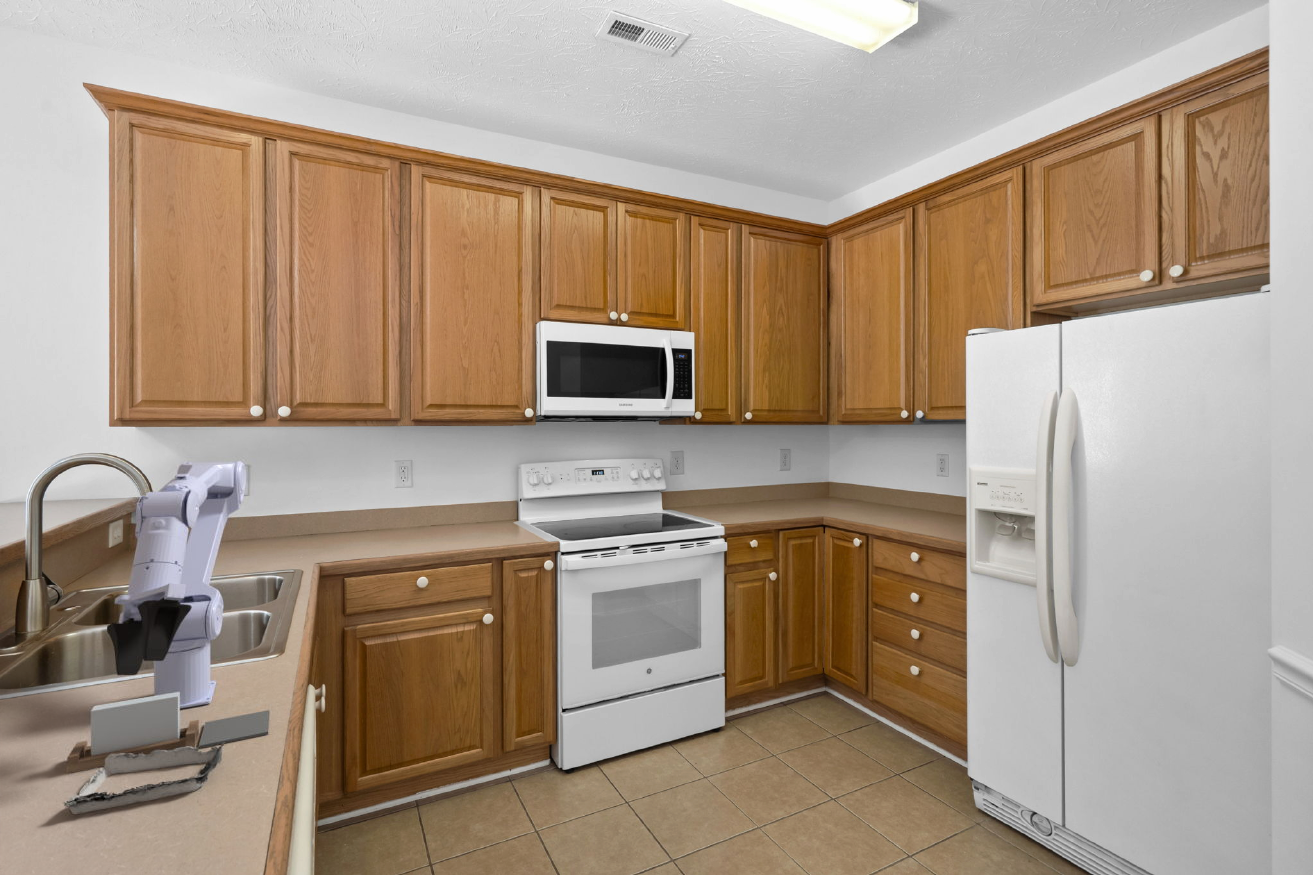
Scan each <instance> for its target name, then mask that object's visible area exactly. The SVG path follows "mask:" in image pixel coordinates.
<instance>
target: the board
mask: <svg viewBox="0 0 1313 875" xmlns="http://www.w3.org/2000/svg"><path fill="white" fill-rule="evenodd" d="M180 712H181V708H180V692H175V693H169V694H163V695H157V696H154V695H152V696H145V697H141V698H140V697H139V698H134V699H133V698H132V699H128V700H127V699H126V700H122V701H121V700H120V701H115V702H110V703H104V704H103V703H102V704H98V705H94V706H93V707H92V708H91V710H90V746H91V756H94V755H99V754H104V753H109V752H114V751H119V750H124V749H129V748H134V747H139V746H144V745H149V744H154V743H159V742H165V741H170V740H175V739H180V729H181V725H180V724H181V713H180Z"/></svg>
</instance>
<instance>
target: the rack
mask: <svg viewBox="0 0 1313 875" xmlns="http://www.w3.org/2000/svg"><path fill="white" fill-rule="evenodd" d="M199 723H200V722H199V719H196V720H190V721H189V723H188V725H187V726H188V727H183V728H180V739H175V740H170V741H165V742H159V743H154V744H149V745H144V746H139V747H134V748H129V749H124V750H119V751H114V752H109V753H104V754H99V755H94V756H91V745H89V746H88V740H84V741H77V742H76V743H75V745H74V746H73V748H72V750H71V751H70V753H69V755H68V756H66V757H67V758H66V761H67V762H66V763H67V764H66V766H67V771H66V773H67V774H70V773H76V772H81V771H85V770H89V769H95V768H99V767H100V768H102V767H104V766H105V759H106V758H107V757H108V756H109V755H110V754H120V753H126V754H127V753H131V754H133V755H138V754H140V753H143V754H144V755H148V754H150V753H151V752H152V751H154V750H167V751H169V750H174V749H176V748H181V747H185V746H192V747H196V745H197V741H198V737H199V734H200V724H199Z"/></svg>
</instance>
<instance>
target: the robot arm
mask: <svg viewBox="0 0 1313 875" xmlns="http://www.w3.org/2000/svg"><path fill="white" fill-rule="evenodd" d="M176 472H177V474H176V475H175V476H174V478H172V479H171V480H169V481H168V482H167V483H166V484H165V485H164V486H163V487H162V488H160V489H159V490H158V491H148V492H147V493H146V494H145V495H141V496H140V497H139V498H138V501H137V502H136V509H135V514H136V515H135V518H136V524H135V530H134V531H135V533H134V534H135V536H134V537H135V538H136V539H137V543H136V548H135V553H134V558H133V562H132V568H131V572H130V577H129V578H130V579H129V582H128V589H127V594H121V595H119V596H117V597H115V599H114V604H116V605H122V612H121V613H120V614H119V619H118V622H111V623H110V624H108V625H106V626H107V627H106V632H107V634H108V636H109V637H110V640H111V642H112V645H113V649H114V658H115V669H116V675H117V676H136V675H138V673H139V672H140V669H141V666H142V664H143V662H153V696H157V695H163V694H169V693H175V692H180V709H186V708H191V707H196V706H202V705H207V704H210V703H211V702H212V699H213V697H214V694H215V689H216V686H217V680H211V641H212V640H215V639H216V638H217V637H218V636H219V635H220V633H221V631H222V628H223V626H222V625H223V617H224V616H223V612H224V600H223V596H222V594H221V592H220V590H219V589H217V588H215V587H214V586H212V585H210V583H211V579H212V576H213V571H214V567H215V564H216V560H217V557H218V552H219V548H220V545H221V542H222V541H221V540H222V537H223V535H224V534H223V533H224V529H225V527H226V523H227V521H228V519H229V517H230V515H231V514H232V513H234V512H237V511H238V510H240V509H241V504H242V503H243V500H244V498H245V492H246V487H247V468H246V465H245V464H244V463H243V461H241V460H236V461H212V462H211V461H210V462H209V461H207V462H205V461H203V462H200V461H199V462H198V461H197V462H190V461H183V462H182V463H181V464H180V465H179V467H178V469H177V471H176ZM189 528H191V529H189ZM189 530H190V531H189Z"/></svg>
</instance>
